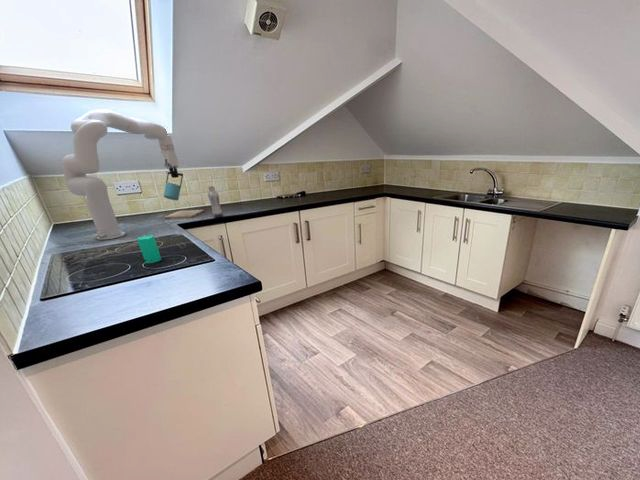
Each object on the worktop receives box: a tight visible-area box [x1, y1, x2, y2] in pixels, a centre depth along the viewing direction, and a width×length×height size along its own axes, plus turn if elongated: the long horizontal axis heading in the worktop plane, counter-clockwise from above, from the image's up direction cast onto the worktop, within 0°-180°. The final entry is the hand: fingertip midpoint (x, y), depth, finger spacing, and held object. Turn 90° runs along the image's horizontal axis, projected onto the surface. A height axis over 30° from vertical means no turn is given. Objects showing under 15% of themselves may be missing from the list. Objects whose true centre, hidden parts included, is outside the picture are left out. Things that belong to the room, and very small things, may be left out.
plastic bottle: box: [207, 186, 224, 219], centre depth 197 cm, size 6×7×20 cm
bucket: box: [163, 171, 184, 201], centre depth 200 cm, size 18×10×8 cm
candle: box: [136, 233, 162, 264], centre depth 125 cm, size 6×6×12 cm
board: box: [163, 209, 205, 219], centre depth 211 cm, size 20×18×1 cm
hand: (175, 177), depth 201 cm, fingers closed on bucket, 1 cm apart
